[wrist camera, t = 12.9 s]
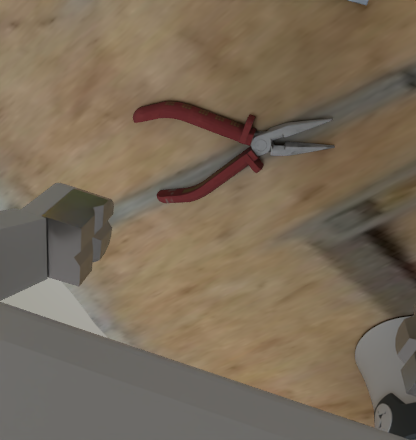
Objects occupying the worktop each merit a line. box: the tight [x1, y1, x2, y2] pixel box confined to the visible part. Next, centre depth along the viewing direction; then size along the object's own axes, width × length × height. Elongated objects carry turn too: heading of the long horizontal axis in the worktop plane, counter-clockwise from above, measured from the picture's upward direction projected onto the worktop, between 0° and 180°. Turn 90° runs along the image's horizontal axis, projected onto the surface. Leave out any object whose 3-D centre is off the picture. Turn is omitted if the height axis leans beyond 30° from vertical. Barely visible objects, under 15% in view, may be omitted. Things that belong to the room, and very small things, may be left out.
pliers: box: [133, 101, 335, 203], centre depth 41 cm, size 12×20×3 cm, turn 103°
